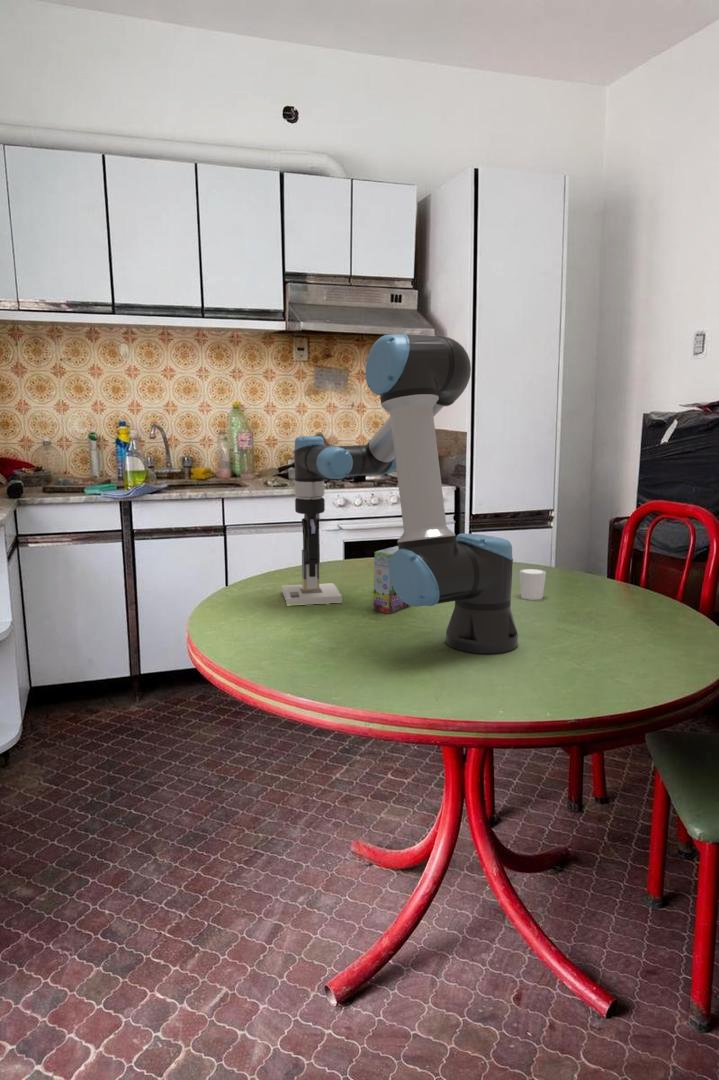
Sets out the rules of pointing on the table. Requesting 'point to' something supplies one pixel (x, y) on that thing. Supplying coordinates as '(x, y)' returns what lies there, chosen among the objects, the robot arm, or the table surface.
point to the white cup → (532, 583)
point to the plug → (304, 559)
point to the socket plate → (312, 594)
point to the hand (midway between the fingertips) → (310, 585)
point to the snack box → (385, 584)
